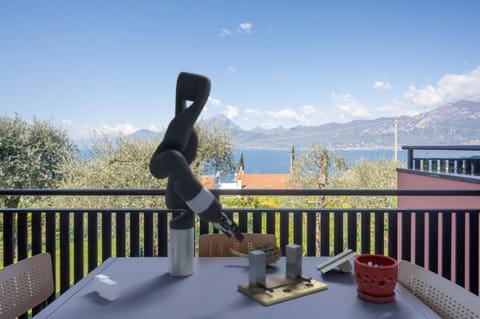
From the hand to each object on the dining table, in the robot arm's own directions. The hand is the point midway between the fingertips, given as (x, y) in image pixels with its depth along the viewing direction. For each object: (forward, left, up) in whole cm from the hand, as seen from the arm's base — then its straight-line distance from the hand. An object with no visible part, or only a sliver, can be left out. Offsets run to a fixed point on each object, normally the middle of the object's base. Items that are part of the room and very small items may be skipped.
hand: (236, 237), depth 112 cm
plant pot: (+40, -18, -19) cm, 48 cm away
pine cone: (+19, +26, -18) cm, 37 cm away
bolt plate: (+17, -5, -18) cm, 26 cm away
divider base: (+16, +1, -18) cm, 25 cm away
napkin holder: (-38, +17, -19) cm, 46 cm away
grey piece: (+44, +6, -19) cm, 48 cm away
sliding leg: (+9, -2, -17) cm, 19 cm away
